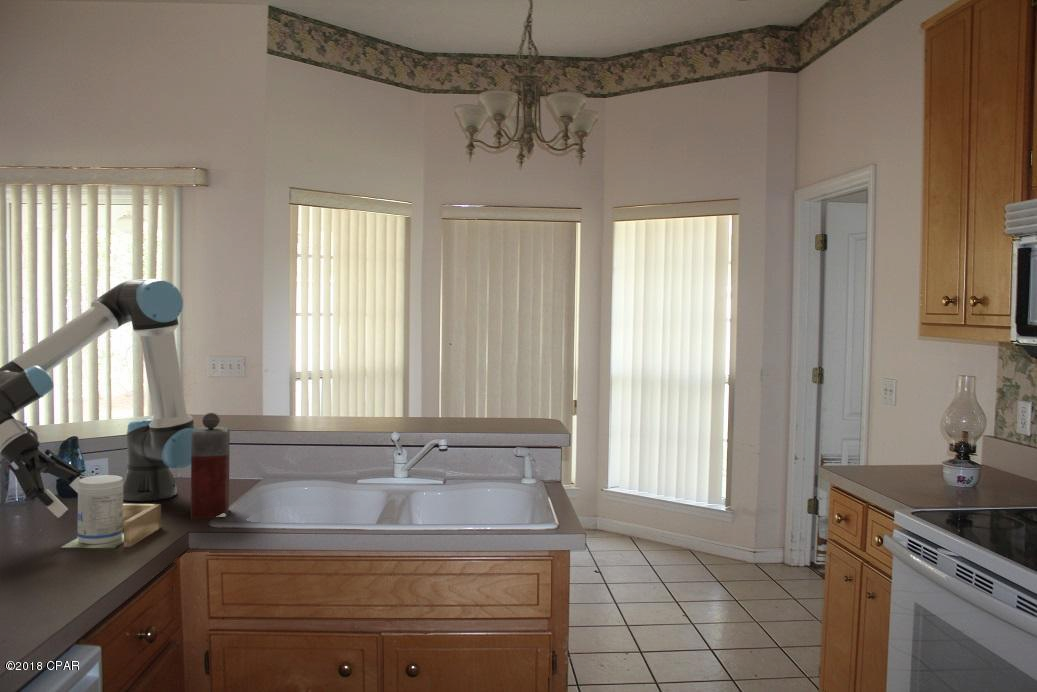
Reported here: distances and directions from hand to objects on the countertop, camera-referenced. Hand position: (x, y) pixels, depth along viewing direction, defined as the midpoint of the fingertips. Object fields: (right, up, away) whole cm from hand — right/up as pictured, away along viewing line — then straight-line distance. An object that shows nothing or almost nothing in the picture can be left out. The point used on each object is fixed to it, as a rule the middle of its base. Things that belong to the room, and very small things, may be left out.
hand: (78, 506), depth 180 cm
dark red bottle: (+20, -8, +28) cm, 35 cm away
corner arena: (+6, -8, +4) cm, 11 cm away
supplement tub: (+5, -8, +1) cm, 10 cm away
